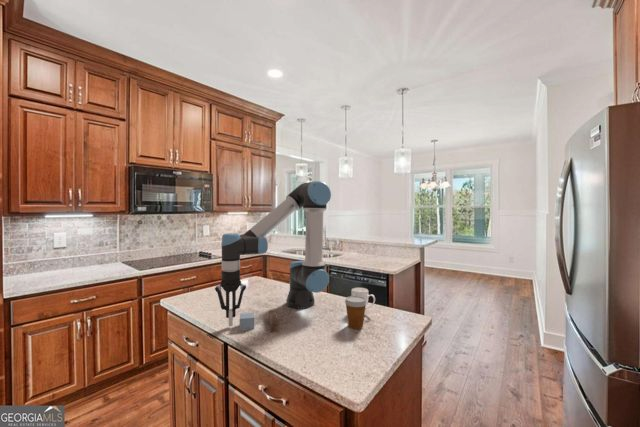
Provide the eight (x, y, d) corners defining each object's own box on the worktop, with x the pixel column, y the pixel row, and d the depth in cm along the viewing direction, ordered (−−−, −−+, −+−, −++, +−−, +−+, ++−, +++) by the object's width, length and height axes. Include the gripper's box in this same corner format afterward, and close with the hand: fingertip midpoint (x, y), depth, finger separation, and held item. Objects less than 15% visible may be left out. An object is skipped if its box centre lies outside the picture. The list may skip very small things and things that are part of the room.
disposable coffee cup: (352, 332, 119) (352, 303, 119) (340, 324, 128) (340, 297, 127) (371, 328, 123) (371, 300, 123) (358, 320, 132) (358, 294, 132)
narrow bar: (275, 317, 135) (275, 310, 135) (278, 331, 119) (278, 323, 119) (269, 318, 134) (269, 310, 134) (270, 332, 118) (271, 323, 118)
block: (254, 323, 127) (254, 312, 127) (254, 329, 122) (254, 317, 121) (240, 325, 126) (240, 313, 126) (239, 330, 120) (239, 318, 120)
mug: (348, 313, 141) (348, 290, 140) (355, 308, 148) (355, 286, 148) (371, 318, 134) (371, 294, 134) (377, 313, 142) (377, 290, 141)
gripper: (246, 267, 127) (246, 320, 128) (215, 268, 124) (215, 322, 125) (246, 271, 120) (246, 327, 120) (213, 272, 117) (213, 329, 117)
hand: (230, 324), depth 123 cm, fingers closed
